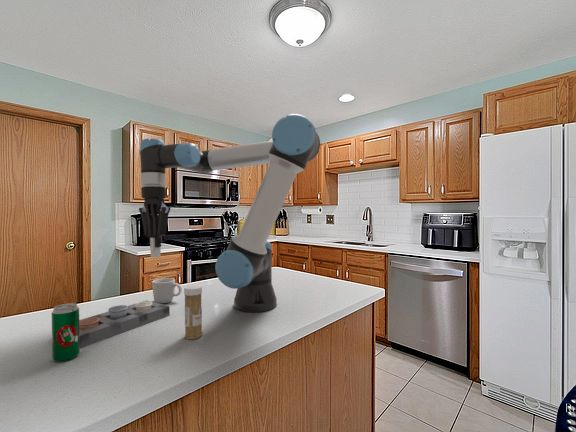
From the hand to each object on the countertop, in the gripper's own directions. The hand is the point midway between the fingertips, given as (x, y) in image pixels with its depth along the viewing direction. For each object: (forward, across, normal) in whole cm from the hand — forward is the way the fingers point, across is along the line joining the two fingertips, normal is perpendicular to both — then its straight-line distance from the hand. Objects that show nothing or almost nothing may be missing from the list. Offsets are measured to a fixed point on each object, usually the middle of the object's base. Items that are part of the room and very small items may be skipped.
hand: (155, 256), depth 98 cm
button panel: (+18, 0, +13) cm, 23 cm away
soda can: (+19, -8, +30) cm, 37 cm away
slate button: (+16, 0, +13) cm, 21 cm away
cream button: (+17, -1, +5) cm, 18 cm away
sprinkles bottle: (+19, -25, +8) cm, 33 cm away
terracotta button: (+17, 0, +21) cm, 27 cm away
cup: (+19, +6, -9) cm, 21 cm away
